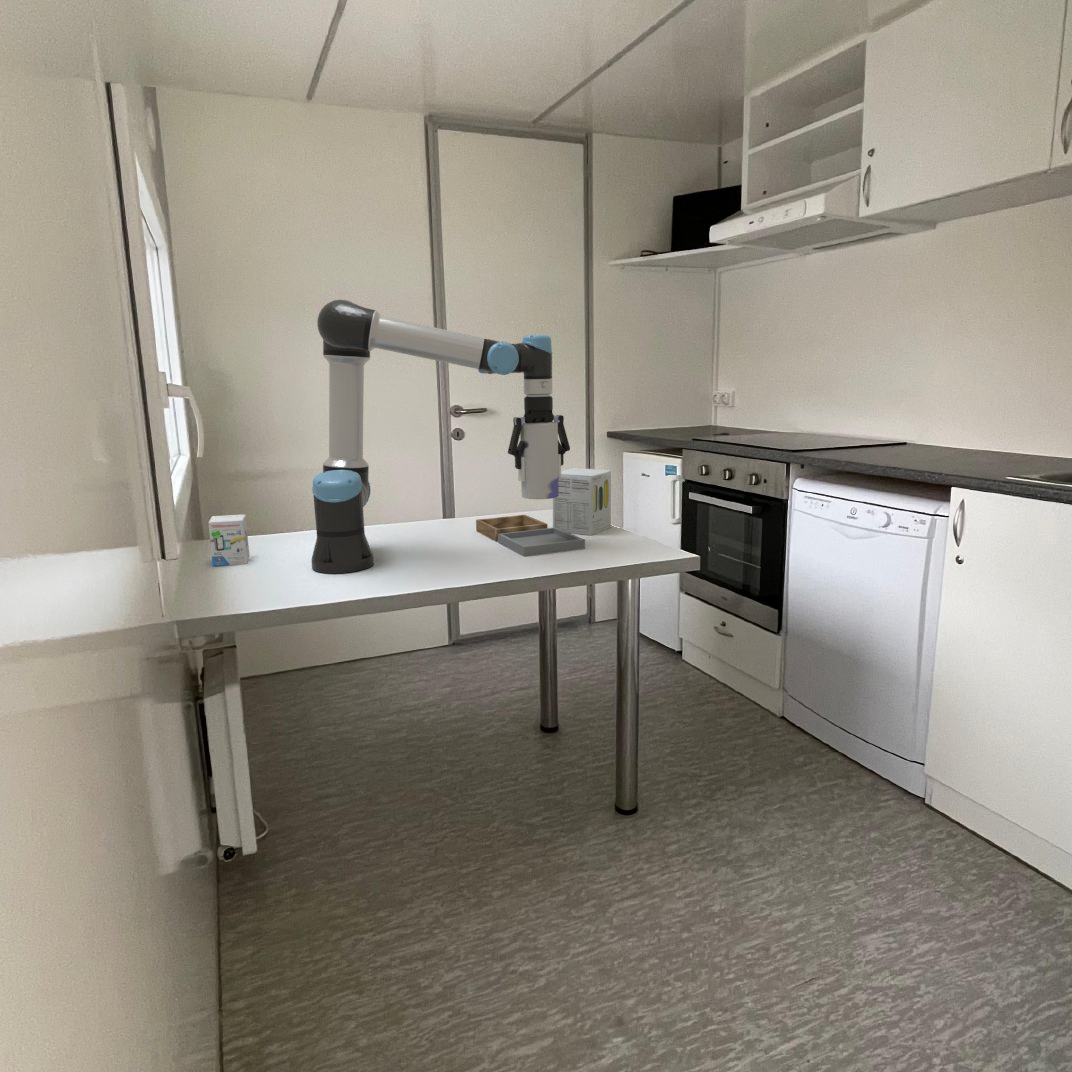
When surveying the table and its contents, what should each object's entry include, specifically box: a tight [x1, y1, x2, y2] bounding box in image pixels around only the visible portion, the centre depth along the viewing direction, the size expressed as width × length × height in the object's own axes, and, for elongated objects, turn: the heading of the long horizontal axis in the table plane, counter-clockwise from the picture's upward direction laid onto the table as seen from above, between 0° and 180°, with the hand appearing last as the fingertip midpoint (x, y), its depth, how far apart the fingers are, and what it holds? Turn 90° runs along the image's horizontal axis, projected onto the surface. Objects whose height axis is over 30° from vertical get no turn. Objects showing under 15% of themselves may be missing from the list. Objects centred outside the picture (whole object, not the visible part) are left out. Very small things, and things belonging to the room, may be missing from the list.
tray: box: [497, 526, 586, 557], centre depth 213 cm, size 18×18×2 cm
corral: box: [475, 514, 549, 543], centre depth 229 cm, size 16×16×4 cm
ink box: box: [207, 514, 250, 567], centre depth 201 cm, size 8×8×12 cm
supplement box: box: [552, 467, 612, 536], centre depth 231 cm, size 13×13×18 cm
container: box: [519, 421, 559, 500], centre depth 208 cm, size 10×10×20 cm
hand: (539, 479), depth 210 cm, fingers closed on container, 10 cm apart
